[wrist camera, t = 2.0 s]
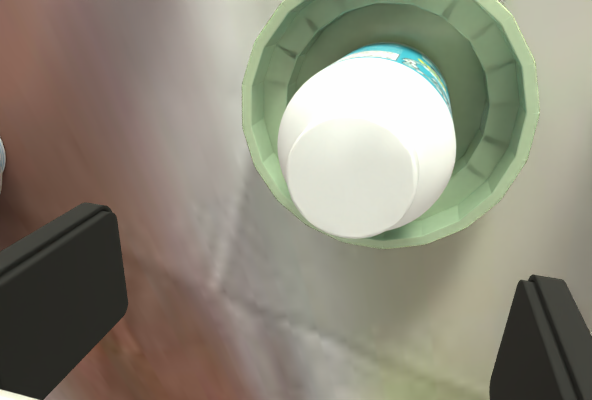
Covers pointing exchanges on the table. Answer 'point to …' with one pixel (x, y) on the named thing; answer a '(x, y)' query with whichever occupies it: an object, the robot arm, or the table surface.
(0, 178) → the chinaware
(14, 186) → the table surface
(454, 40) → the bowl
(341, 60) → the pill bottle
